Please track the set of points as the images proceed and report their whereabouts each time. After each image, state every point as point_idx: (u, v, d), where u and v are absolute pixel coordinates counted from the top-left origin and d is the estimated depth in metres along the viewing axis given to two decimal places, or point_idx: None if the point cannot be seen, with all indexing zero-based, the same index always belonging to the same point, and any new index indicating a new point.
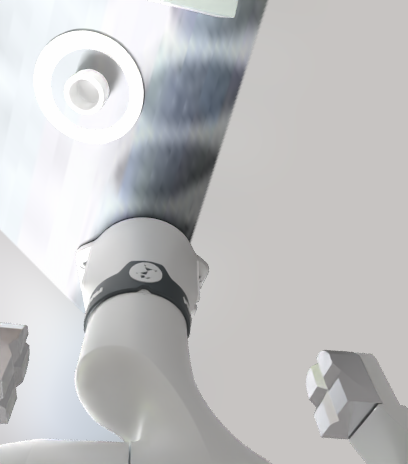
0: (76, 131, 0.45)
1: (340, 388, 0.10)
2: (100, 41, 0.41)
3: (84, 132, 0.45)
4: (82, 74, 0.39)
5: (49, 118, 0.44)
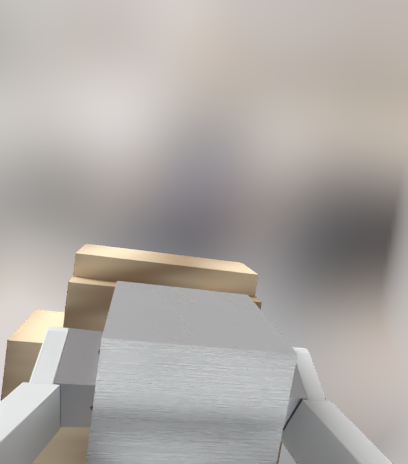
0: None
1: None
2: None
3: None
4: None
5: None
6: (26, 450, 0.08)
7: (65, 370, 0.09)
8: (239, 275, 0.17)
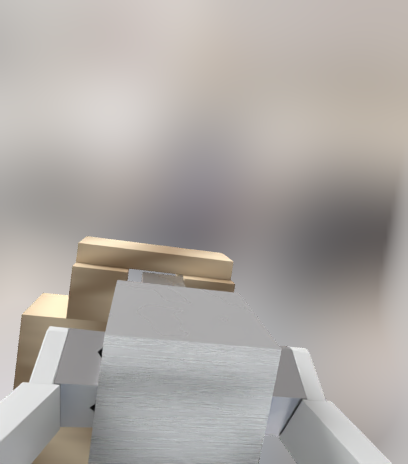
0: None
1: None
2: None
3: None
4: None
5: None
6: (26, 450, 0.08)
7: (65, 370, 0.09)
8: (217, 262, 0.20)
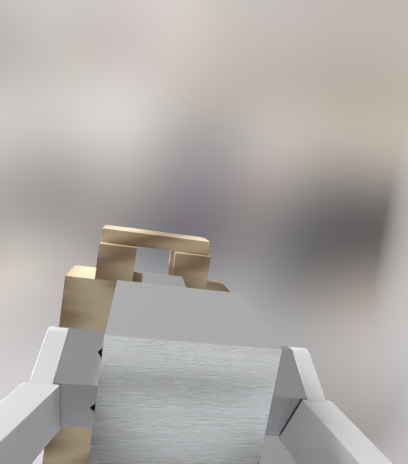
0: None
1: None
2: None
3: None
4: None
5: None
6: (26, 450, 0.08)
7: (65, 370, 0.09)
8: (198, 242, 0.29)
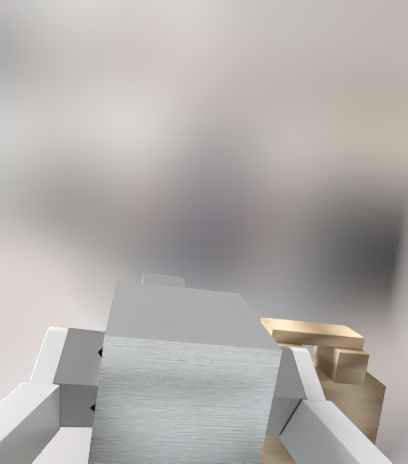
0: None
1: None
2: None
3: None
4: None
5: None
6: (26, 450, 0.08)
7: (65, 370, 0.09)
8: (354, 338, 0.32)
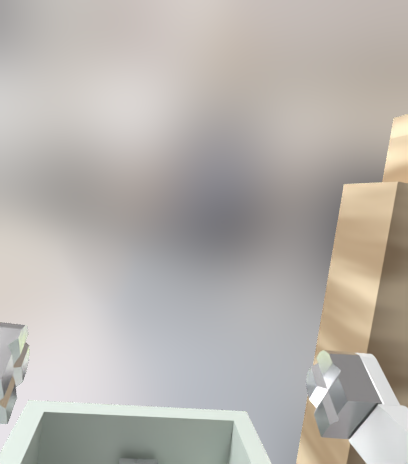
0: None
1: (340, 388, 0.10)
2: None
3: None
4: None
5: None
6: None
7: None
8: None
